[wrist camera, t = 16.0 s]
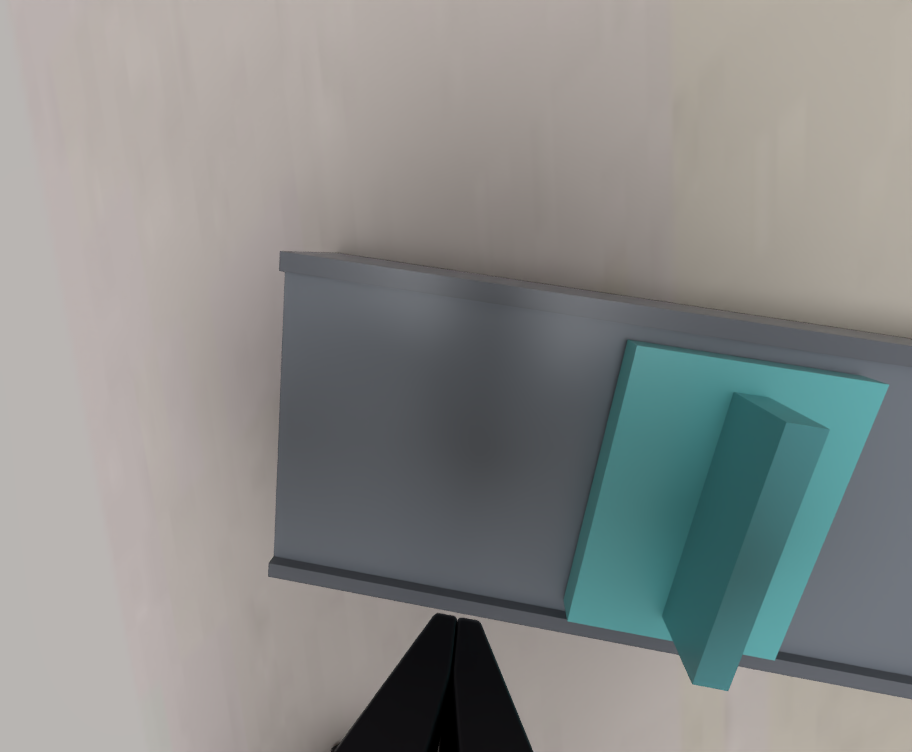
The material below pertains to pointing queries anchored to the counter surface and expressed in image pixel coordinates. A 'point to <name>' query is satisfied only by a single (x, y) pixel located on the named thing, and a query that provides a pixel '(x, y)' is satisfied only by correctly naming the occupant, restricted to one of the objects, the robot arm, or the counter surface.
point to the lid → (714, 500)
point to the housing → (543, 451)
